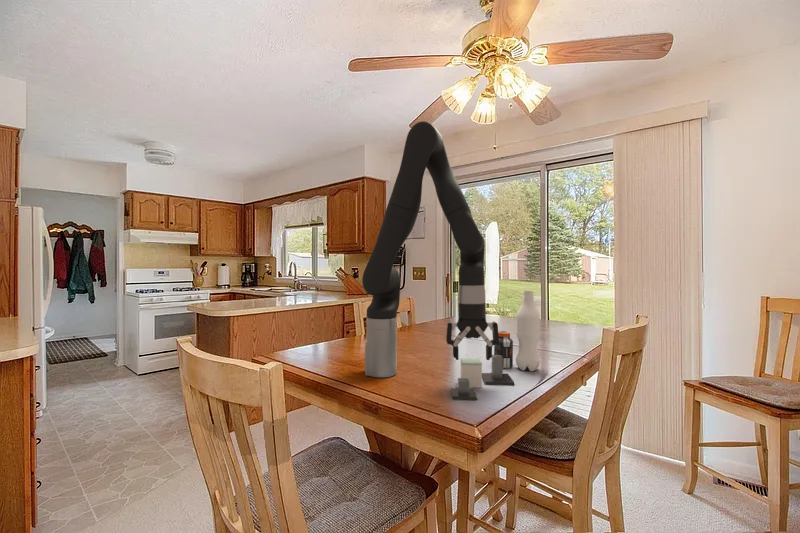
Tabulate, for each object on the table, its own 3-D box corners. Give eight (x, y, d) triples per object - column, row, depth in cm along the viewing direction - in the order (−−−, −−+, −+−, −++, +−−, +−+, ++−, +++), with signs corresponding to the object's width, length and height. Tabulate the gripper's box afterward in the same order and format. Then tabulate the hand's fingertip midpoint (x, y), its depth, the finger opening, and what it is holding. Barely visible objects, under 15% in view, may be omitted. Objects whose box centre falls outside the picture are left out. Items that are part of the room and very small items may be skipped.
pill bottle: (513, 369, 120) (513, 333, 119) (494, 368, 121) (494, 333, 121) (511, 364, 126) (512, 330, 125) (493, 363, 127) (493, 329, 127)
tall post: (485, 384, 105) (485, 359, 105) (480, 375, 113) (480, 352, 113) (514, 385, 104) (514, 360, 104) (507, 376, 112) (508, 353, 112)
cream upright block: (462, 387, 103) (462, 363, 102) (460, 380, 108) (460, 358, 108) (481, 387, 102) (481, 363, 102) (478, 381, 107) (478, 358, 107)
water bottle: (514, 370, 118) (515, 291, 117) (516, 365, 124) (517, 289, 124) (539, 373, 115) (540, 292, 115) (539, 367, 122) (540, 290, 121)
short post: (452, 399, 93) (452, 383, 93) (450, 391, 99) (450, 376, 99) (476, 400, 93) (477, 384, 93) (473, 391, 99) (473, 376, 99)
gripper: (446, 302, 101) (447, 362, 101) (500, 302, 100) (501, 363, 100) (445, 300, 109) (446, 356, 109) (495, 299, 108) (495, 356, 108)
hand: (472, 359), depth 105 cm, fingers open, 8 cm apart
